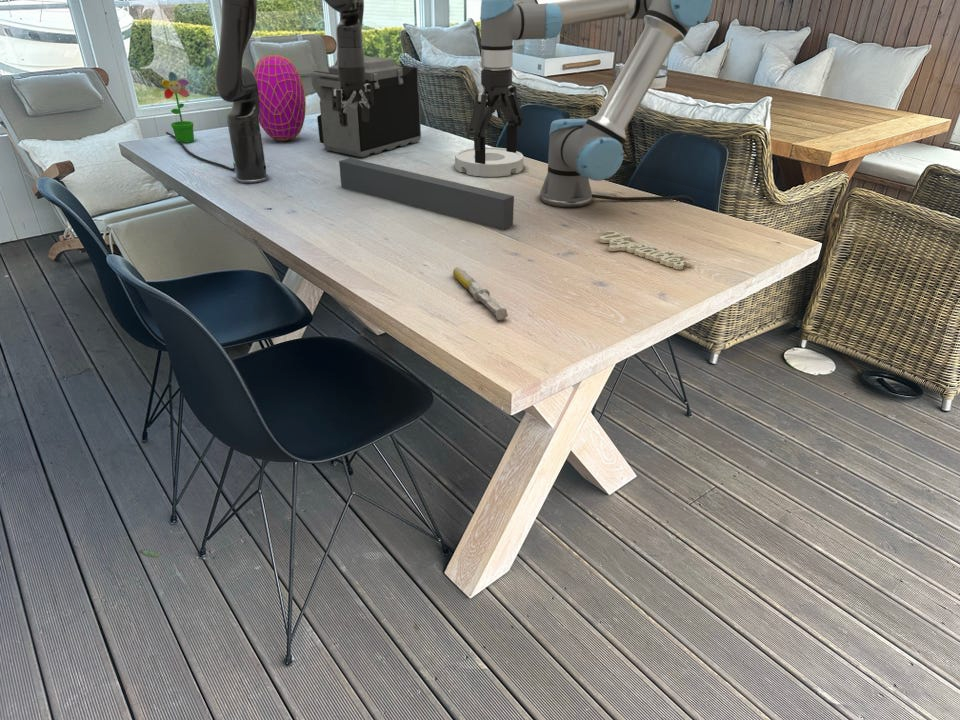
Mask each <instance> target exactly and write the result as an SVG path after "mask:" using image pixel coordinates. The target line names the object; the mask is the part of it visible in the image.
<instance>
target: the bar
mask: <svg viewBox="0 0 960 720" xmlns="http://www.w3.org/2000/svg"><path fill="white" fill-rule="evenodd" d="M338 164H339V165H338V166H339V177H340V186H341V188H342V189H345V190H349V191H353V192H357V193H361V194H365V195H368V196H371V197H376V198H380V199H383V200H387V201H390V202H395V203H398V204H401V205H406V206H410V207H414V208H417V209H418V208H419V209H421V210H425V211H429V212H433V213H436V214H440V215H444V216H448V217H452V218H455V219H459V220H462V221H467V222H470V223H475V224H478V225H482V226H484V227H489V228H494V229H498V230H501V231H505V230H507V229H509V228H511V227H514V210H515V209H514V206H515V195H512V194H508V193H503V192H499V191H495V190H490V189H486V188H482V187H481V188H480V187H478V186H473V185H469V184H464V183H460V182H456V181H452V180H447V179H444V178H443V179H442V178H438V177H433V176H430V175H426V174H420V173H417V172H412V171H408V170H404V169H399V168H395V167H390V166H386V165H381V164H377V163H373V162H370V161H369V162H368V161H365V160H362V159H361V160H360V159H355V158H351V157H348V158H344V159H341V160H338Z"/></svg>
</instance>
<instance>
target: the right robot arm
mask: <svg viewBox="0 0 960 720" xmlns="http://www.w3.org/2000/svg"><path fill="white" fill-rule="evenodd" d="M712 4H713V0H481V3H480V17H479V19H480V53H481V54H480V66H481V67H482V69H481V70H480V85H481V86H482V87H483V88H484V92H476V93H475V102H474V107H473V111H472V115H471V117H470V122H469V126H468V128H467V129H468V130H467V134H468V135H469V136H471V137H473V148H474V150H475V163H480V164H485V147H486V136H484V134H485V132H486V130H487V128H488V125H489V123H490V120H491V118H492V116H493V114H495V112H496V111H498V110H499V109H500V110H501V112H502V114H503V116H504V118H505V120H506V121H507V123H508V125H506V145H505V146H506V147H505V149H506V151H507V152H513V153H516V151H518V150H517V146H518V145H517V143H518V127H521V126H522V123H523V121H524V117H523V114H522V113H523V112H522V109H521V105H520V102H519V98H518V95H517V86H516V85H512V84H513V70H512V67H513V64H514V61H513V59H514V57H513V55H514V54H513V52H514V51H513V49H514V48H513V47H514V46H513V45H514V41H520V40H521V41H523V40H544V41H545V40H547V39H555V38H557V37H558V36H559V35H560V33H561V30H562V27H567V26H572V25H573V26H574V25H579V24H586V23H591V22H598V21H603V20H611V19H616V18H617V19H618V18H621V19H622V20H623V21H630V20H643V23H644V25H645V26H644V29H643V31H642V32H641V34H640V36H639V37H638V40H637V41H636V43H635V44H634V47H633V48H632V50H631V51H630V52H631V53H630V54H629V56H628V58H627V59H626V61H625V63H624V65H622V68H621V70H620V72H619V73H618V75H617V77H616V79H615V81H614V83H613V85H612V86H611V88H610V90H609V92H608V94H607V95H606V97H605V99H604V101H603V103H602V104H601V106H600V108H599V110H598V112H597V114H595V115H592V116H589V117H588V118H561V119H554V120H553V121H552V122H551V124H550V127H549V128H550V129H549V133H548V136H549V141H548V142H549V143H548V156H547V158H548V159H547V173H546V176H545V178H544V181H543V184H542V187H541V189H540V192H539V200H540V202H542V203H543V204H546V205H549V206H553V207H558V208H559V207H560V208H580V207H584V206H588V205H589V204H591V203H592V199H602V200H609V201H622V202H623V201H624V202H625V201H626V202H627V201H629V202H630V201H632V202H633V201H673V200H687V201H689V202H690V203H691V204H696V201H695V200H694V199H693V198H692V197H690V196H689V195H684V194H681V195H672V196H671V195H670V196H610V195H604V194H594V193H592V188H591V184H590V180H591V181H597V182H599V181H604V180H607V179H609V178H611V177H613V176H614V175H616V173H617V172H618V171H619V169H620V168H621V166H622V164H623V161H624V149H623V146H624V144H625V143H626V141H627V135H626V130H627V128H628V126H629V124H630V123H631V121H632V119H633V117H634V116H635V114H636V112H637V110H638V109H639V108H640V107H639V106H640V105H641V103H642V101H643V100H644V98H645V97H646V94H647V93H648V92H649V89H650V87H651V85H652V84H653V82H654V80H655V79H656V77H657V75H658V73H660V70H661V68H662V67H663V65H664V63H665V61H666V59H667V58H668V56H669V54H670V53H671V51H672V49H673V47H674V45H675V44H676V43H679V42H682V41H684V40H685V38H686V36H687V34H688V33H689V31H690V30H691V28H694V27H697V26H698V25H700V24H702V23H703V22H704V21H705V20H706V19H707V17H708V15H709V14H710V11H711V8H712Z"/></svg>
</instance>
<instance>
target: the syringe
mask: <svg viewBox="0 0 960 720" xmlns="http://www.w3.org/2000/svg"><path fill="white" fill-rule="evenodd" d="M452 274H453V277H454V279H455V280H457V281H458V282H459V283H460V285H462V287H464V289H466V290H467V291H468V293H470V295H471V296H472V298H473V300H474V302H477V303H478V302H480V303H482V304H483V305H484V306H485V307H486V308H487V309H488V310H489V311H490V312H491V313H492V314H493V315H494V316H495V317H496V320H497V321H503V320H504V319H506V318H507V317H509V314H508V310H507V308H506V307H502V306H501V305H500V303H498V302H497V301H496V300H494V299H493V298H492V297H491V296H490V295H491V293H490V290H488V289H486V288H483V287H482V286H481V285H480V284H479V283H478V282H477V281H476V280H474V278H473V277H471V275H469V274H468V273H467V272H466V270H465V269H464V268H463V267H462V266H456V267H454V268H453V271H452Z"/></svg>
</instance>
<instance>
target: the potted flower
mask: <svg viewBox="0 0 960 720" xmlns="http://www.w3.org/2000/svg"><path fill="white" fill-rule="evenodd" d="M167 76H168V77H167V78H168V79H165V78H164V79H162V80H161V84H160V85H161V86H162V87H163V88H166V89H165V90H164V93H163V95H164V98H165V99H171V98H172V97H173V96H175V101H176V106H177V108H172V109H171V110H170V112H171V113H172V114H174V115H179V120H180V121H174V122H171V123H170V127H171V129H172V130H173V133H174V134H173V135H174V136H175V137H176V139H175V140H176V142H177V143H179V142H178V141H181V142H182V144H188V143H192V142H194V141H195V135H194V122H193V121H190V120H183V116H182V111H181V109H182V108H183V107H184V106H185V104H184V103H180V101H179V96H178V95H180V96H181V97H183V98H187V97H190V92H189V90H187V89H186V88H184V87H186V86H188V84H189V83H190V81H189V80H188V79H186V78H183V77H182V78H179V79H178V76H177V74H176V73H175V72H174V71H169V73H168V75H167Z"/></svg>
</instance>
